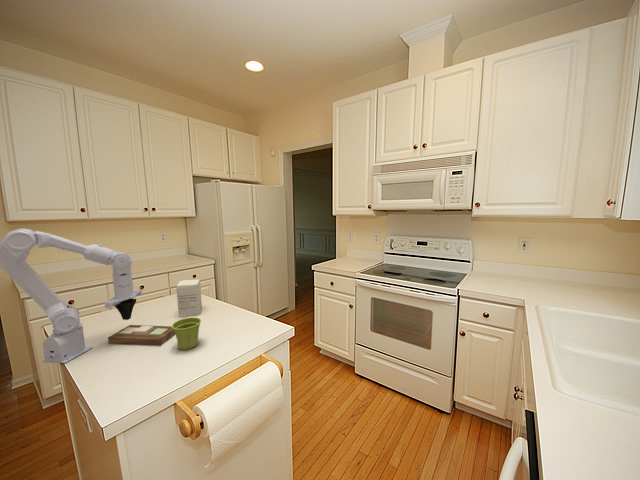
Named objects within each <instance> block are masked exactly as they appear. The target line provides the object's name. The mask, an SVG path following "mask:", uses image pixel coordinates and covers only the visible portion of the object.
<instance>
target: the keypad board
mask: <svg viewBox="0 0 640 480" xmlns="http://www.w3.org/2000/svg"><path fill="white" fill-rule="evenodd" d="M141 326H147V325H139V324H129V325H127V326H126V327H124V328H122V329H121V330H118V331H117V332H114V333H113V334H111V335H109V336H108V337H107V341H108V342H107V343H108V344H109V345H131V346H133V345H134V346H153V347H154V346H155V347H157V346H159V347H161V346H162V345H164V344H165V343H166V342H168V340H170V339H171V338H172V337H174V336H176V334H175V332H174V329H173V328H172V325H171V326H169V325H168V326H167V325H152V326H153V328H154V330H156V329H157V328H161V329H168V331H167V332H165V333H164V334H162V335H161V336H153V335H149V334H150V333H151V332H153V331H154V330H152V331H151V332H149V333H148V334H146V335H134V333H132V334H130V335H127V334H119V332H121V331H123V330H125V329H126V328H128V327H133V328H140V327H141Z"/></svg>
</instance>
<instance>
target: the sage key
mask: <svg viewBox="0 0 640 480" xmlns="http://www.w3.org/2000/svg"><path fill="white" fill-rule="evenodd" d="M167 331H168V329H161V328H157V329H156V330H154V331H153V332H151V333H150V334H149V335H153V336H161V335H162V334H164V333H165V332H167Z"/></svg>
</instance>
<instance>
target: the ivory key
mask: <svg viewBox="0 0 640 480" xmlns="http://www.w3.org/2000/svg"><path fill="white" fill-rule="evenodd" d="M153 326H154V325H146V326H141V327H140V328H138V329H136V330H135V331H134V335H146V334H148V333H149V332H151V331H152V330H154V328H153Z"/></svg>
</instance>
